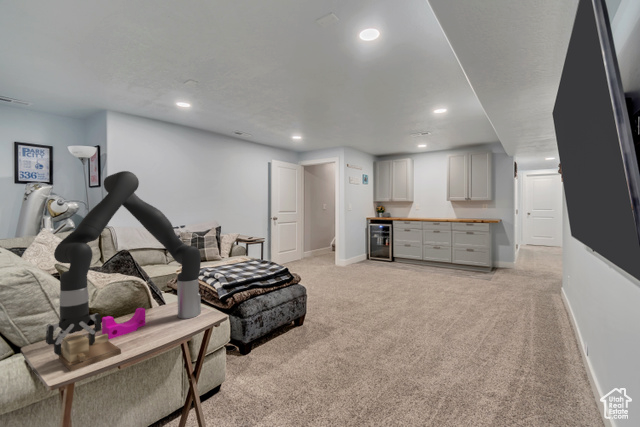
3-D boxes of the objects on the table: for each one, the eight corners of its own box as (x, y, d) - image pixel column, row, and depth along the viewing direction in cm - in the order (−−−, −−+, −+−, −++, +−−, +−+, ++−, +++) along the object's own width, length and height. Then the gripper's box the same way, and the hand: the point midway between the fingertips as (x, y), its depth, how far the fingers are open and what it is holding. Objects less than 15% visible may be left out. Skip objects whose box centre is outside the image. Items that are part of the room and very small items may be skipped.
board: (106, 343, 112) (106, 333, 112) (121, 353, 105) (120, 342, 104) (58, 359, 101) (58, 347, 101) (70, 371, 93) (70, 358, 93)
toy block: (109, 339, 116) (108, 320, 116) (102, 336, 120) (101, 317, 119) (148, 327, 129) (148, 309, 129) (141, 324, 132) (141, 307, 132)
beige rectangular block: (81, 350, 104) (80, 333, 104) (92, 359, 98) (91, 341, 98) (62, 355, 100) (62, 338, 100) (73, 365, 94) (72, 346, 94)
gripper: (95, 294, 107) (96, 339, 108) (43, 305, 96) (44, 355, 96) (103, 298, 103) (104, 344, 103) (49, 309, 91) (50, 361, 92)
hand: (75, 349), depth 100 cm, fingers open, 8 cm apart
